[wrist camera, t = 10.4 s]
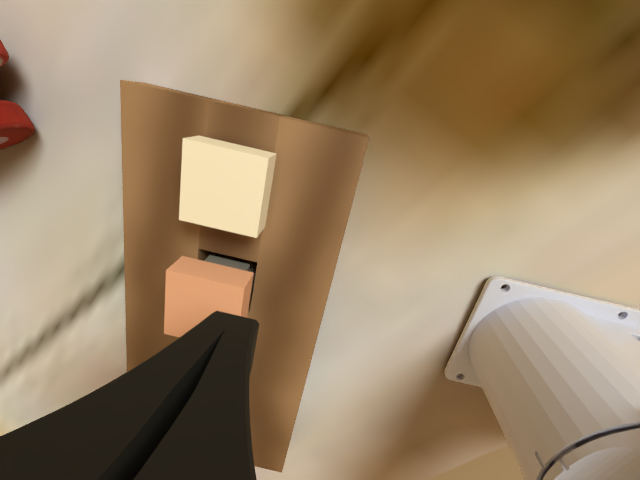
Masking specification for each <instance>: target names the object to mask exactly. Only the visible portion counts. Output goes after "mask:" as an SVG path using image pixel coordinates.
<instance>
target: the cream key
mask: <svg viewBox="0 0 640 480" xmlns="http://www.w3.org/2000/svg"><path fill="white" fill-rule="evenodd" d="M276 154H277V153H272V152H268V151H264V150H259V149H255V148H251V147H246V146H242V145H238V144H234V143H229V142H225V141H221V140H216V139H212V138H208V137H204V136H199V135H198V136H193V137H187V138H183V142H182V163H181V184H180V206H179V220H181V221H186V222H190V223H194V224H199V225H203V226H207V227H211V228H216V229H220V230H224V231H229V232H233V233H237V234H241V235H246V236H250V237H254V238H257V237H258V236H259V234H260V233H261V232H262V230H263V229H264V228H265V224H266V218H267V211H268V205H269V199H270V192H271V186H272V180H273V173H274V167H275V161H276Z"/></svg>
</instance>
